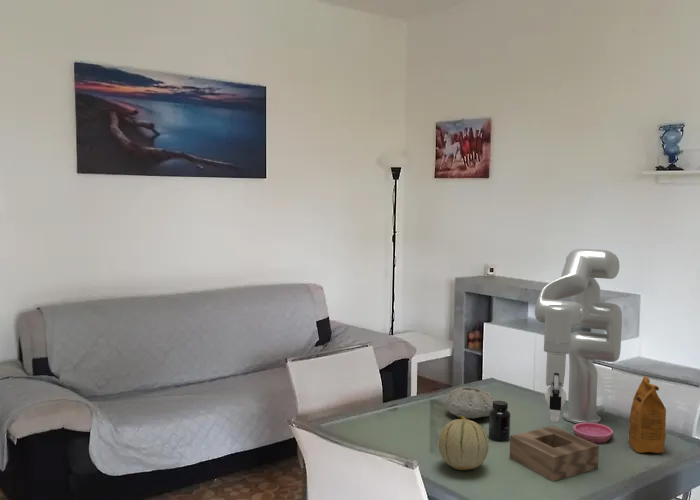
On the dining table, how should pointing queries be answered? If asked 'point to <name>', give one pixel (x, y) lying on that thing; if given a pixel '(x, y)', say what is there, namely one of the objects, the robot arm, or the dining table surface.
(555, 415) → the lightbulb
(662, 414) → the coffee package
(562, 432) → the socket block
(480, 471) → the dining table surface
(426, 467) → the dining table surface
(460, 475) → the dining table surface
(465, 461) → the cantaloupe
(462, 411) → the grey rounded lump
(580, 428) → the saucer
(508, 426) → the supplement bottle
